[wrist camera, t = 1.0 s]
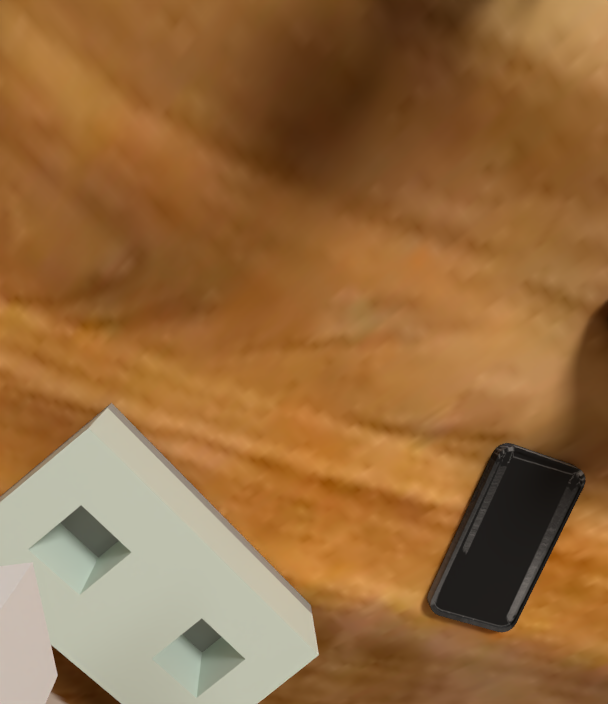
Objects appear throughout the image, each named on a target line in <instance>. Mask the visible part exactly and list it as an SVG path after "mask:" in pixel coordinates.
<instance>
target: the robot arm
mask: <svg viewBox="0 0 608 704" xmlns="http://www.w3.org/2000/svg"><path fill="white" fill-rule="evenodd" d="M57 676H58V675H57V670H56V666H55V661H54V657H53V652H52V648H51V643H50V638H49V634H48V629H47V625H46V620H45V616H44V611H43V607H42V602H41V598H40V593H39V589H38V584H37V580H36V575H35V571H34V566H33V562H29V563H21V564H14V565H6V566H0V704H46V701H47V699H48V697H49V694H50V692H51V690H52V688H53V685H54V683H55V681H56V678H57Z"/></svg>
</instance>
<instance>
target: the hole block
mask: <svg viewBox="0 0 608 704" xmlns="http://www.w3.org/2000/svg"><path fill="white" fill-rule="evenodd" d="M29 562H33V566H34V571H35V575H36V580H37V584H38V589H39V593H40V598H41V602H42V607H43V611H44V616H45V620H46V625H47V629H48V634H49V638H50V643H51V645H52V646H53V647H54V648H56V649H57V650H58V651H59V652H60V653H62V654H63V655H64V656H65V657H66V658H68V659H69V660H70V661H71V662H72V663H73V664H75V665H76V666H77V667H78V668H79V669H81V670H82V671H83V672H84V673H85V674H87V675H88V676H89V677H90V678H91V679H93V680H94V681H95V682H96V683H97V684H98V685H100V686H101V687H102V688H103V689H104V690H106V691H107V692H108V693H109V694H110V695H112V696H113V697H114V698H115V699H116V700H118V701H119V702H120V703H121V704H257V703H259V702H260V701H261V700H262V699H264V698H265V697H266V696H267V695H269V694H270V693H271V692H273V691H274V690H275V689H276V688H278V687H279V686H280V685H281V684H283V683H284V682H285V681H287V680H288V679H289V678H290V677H292V676H293V675H294V674H295V673H297V672H298V671H299V670H300V669H302V668H303V667H304V666H306V665H307V664H308V663H309V662H311V661H312V660H313V659H314V658H316V657H317V656H318V655H319V653H318V647H317V641H316V635H315V629H314V623H313V617H312V611H311V605H310V604H309V603H308V602H307V601H306V600H305V599H304V598H303V597H302V596H301V595H300V594H299V593H298V592H297V591H296V590H295V589H294V588H293V587H292V586H291V585H290V584H289V583H288V582H287V581H286V580H285V579H284V578H283V577H282V576H281V575H280V574H279V573H278V572H277V571H276V570H275V569H274V568H273V567H272V566H271V565H270V564H269V563H268V562H267V560H266V559H265V558H264V557H263V556H262V555H261V554H260V553H259V552H258V551H257V550H256V549H255V548H254V547H253V546H252V545H251V544H250V543H249V542H248V541H247V540H246V539H245V538H244V537H243V536H242V535H241V534H240V533H239V532H238V531H237V530H236V529H235V528H234V527H233V526H232V525H231V524H230V523H229V522H228V521H227V520H226V519H225V518H224V517H223V516H222V515H221V514H220V513H219V512H218V511H217V510H216V509H215V508H214V507H213V506H212V505H211V504H210V503H209V502H208V501H207V500H206V499H205V498H204V497H203V496H202V494H201V493H200V492H199V491H198V490H197V489H196V488H195V487H194V486H193V485H192V484H191V483H190V482H189V481H188V480H187V479H186V478H185V477H184V476H183V475H182V474H181V473H180V472H179V471H178V470H177V469H176V468H175V467H174V466H173V465H172V464H171V463H170V462H169V461H168V460H167V459H166V458H165V457H164V456H163V455H162V454H161V453H160V452H159V451H158V450H157V449H156V448H155V447H154V446H153V445H152V444H151V443H150V442H149V441H148V440H147V439H146V438H145V437H144V436H143V435H142V434H141V433H140V432H139V431H138V430H137V428H136V427H135V426H134V425H133V424H132V423H131V422H130V421H129V420H128V419H127V418H126V417H125V416H124V415H123V414H122V413H121V412H120V411H119V410H118V409H117V408H116V407H115V406H114V405H113V404H112V403H111V404H110V405H109V406H107V407H106V408H105V409H104V410H103V411H101V412H100V413H99V414H98V415H97V416H95V417H94V418H93V419H92V420H91V421H90V422H88V423H87V424H86V425H85V426H84V427H82V428H81V429H80V430H79V431H78V432H76V433H75V434H74V435H73V436H72V437H71V438H69V439H68V440H67V441H66V442H65V443H63V444H62V445H61V446H60V447H59V448H57V449H56V450H55V451H54V452H53V453H51V454H50V455H49V456H48V457H47V458H46V459H44V460H43V461H42V462H41V463H40V464H38V465H37V466H36V467H35V468H34V469H32V470H31V471H30V472H29V473H28V474H27V475H25V476H24V477H23V478H22V479H21V480H19V481H18V482H17V483H16V484H15V485H13V486H12V487H11V488H10V489H9V490H7V491H6V492H5V493H4V494H3V495H2V496H0V566H6V565H14V564H21V563H29Z"/></svg>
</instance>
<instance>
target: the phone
mask: <svg viewBox="0 0 608 704" xmlns="http://www.w3.org/2000/svg"><path fill="white" fill-rule="evenodd" d="M584 484H585V475H584V473H583V472H582V471H581V470H580V469H578V468H577V467H575V466H574V465H572V464H569V463H566V462H563V461H560V460H557V459H554V458H552V457H549V456H546V455H543V454H540V453H537V452H534V451H531V450H529V449H526V448H523V447H520V446H517V445H514V444H510V443H505V444H502V445H500V446H498V447H497V448H496V449H495V450H494V452H493V454H492V456H491V458H490V460H489V462H488V465H487V467H486V469H485V471H484V473H483V475H482V478H481V480H480V482H479V484H478V486H477V489H476V490H475V492H474V495H473V497H472V499H471V502H470V504H469V506H468V508H467V510H466V513H465V515H464V517H463V519H462V521H461V523H460V526H459V528H458V530H457V532H456V534H455V537H454V539H453V541H452V543H451V545H450V547H449V550H448V552H447V554H446V556H445V558H444V560H443V563H442V565H441V567H440V569H439V571H438V574H437V576H436V578H435V580H434V582H433V584H432V587H431V589H430V591H429V593H428V597H427V599H428V603H429V605H430V607H431V609H432V611H433V612H434V613H435V614H437V615H439V616H443V617H446V618H450V619H454V620H457V621H461V622H464V623H468V624H472V625H475V626H479V627H483V628H486V629H490V630H493V631H497V632H506V631H508V630H510V629H512V628H513V627H514V626H515V624H516V623H517V621H518V619H519V616H520V614H521V612H522V610H523V608H524V606H525V604H526V602H527V600H528V598H529V596H530V594H531V592H532V590H533V588H534V586H535V584H536V582H537V580H538V578H539V576H540V574H541V572H542V570H543V568H544V566H545V564H546V562H547V560H548V558H549V556H550V554H551V552H552V550H553V548H554V546H555V544H556V542H557V540H558V538H559V536H560V534H561V532H562V530H563V528H564V525H565V523H566V521H567V519H568V517H569V515H570V513H571V511H572V509H573V507H574V505H575V503H576V501H577V499H578V497H579V495H580V493H581V491H582V489H583V487H584Z"/></svg>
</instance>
